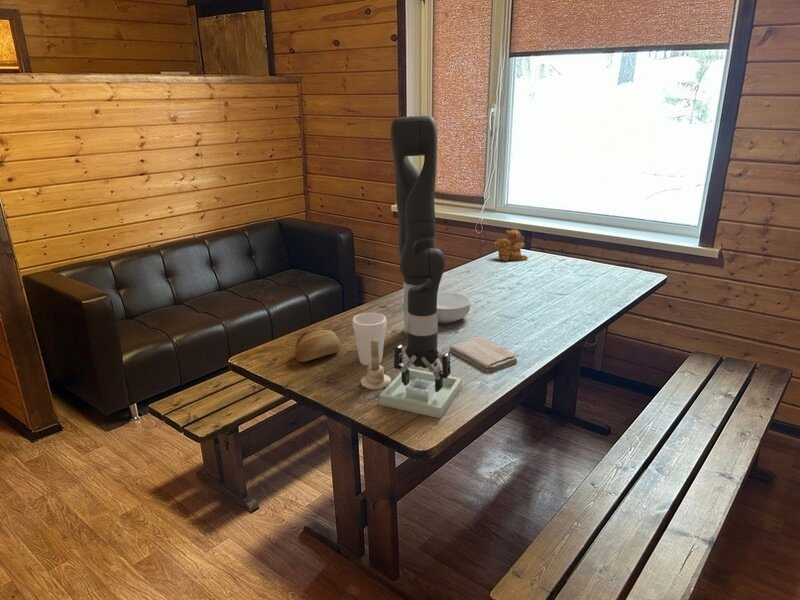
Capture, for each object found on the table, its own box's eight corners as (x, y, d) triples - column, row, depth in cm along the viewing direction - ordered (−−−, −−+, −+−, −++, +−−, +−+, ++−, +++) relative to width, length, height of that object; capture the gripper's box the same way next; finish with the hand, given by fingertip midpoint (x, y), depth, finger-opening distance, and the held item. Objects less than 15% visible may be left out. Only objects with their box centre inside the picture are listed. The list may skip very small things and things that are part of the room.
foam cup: (347, 360, 167) (345, 318, 162) (371, 350, 173) (370, 310, 168) (369, 371, 161) (368, 328, 156) (393, 360, 167) (393, 318, 162)
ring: (415, 386, 151) (415, 377, 150) (436, 390, 149) (436, 382, 148) (405, 397, 146) (405, 388, 145) (428, 401, 144) (428, 392, 143)
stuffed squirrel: (529, 259, 260) (531, 230, 255) (504, 264, 253) (506, 235, 249) (514, 254, 268) (516, 226, 264) (490, 259, 262) (491, 230, 257)
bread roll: (286, 358, 169) (284, 333, 166) (328, 343, 178) (327, 319, 175) (305, 369, 162) (303, 343, 159) (347, 353, 172) (346, 328, 169)
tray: (405, 376, 157) (405, 367, 157) (461, 387, 151) (462, 378, 150) (379, 404, 144) (379, 395, 143) (440, 418, 138) (440, 408, 137)
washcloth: (489, 375, 159) (489, 365, 158) (447, 352, 173) (447, 343, 171) (519, 363, 165) (520, 353, 164) (477, 342, 179) (477, 333, 178)
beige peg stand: (369, 372, 160) (367, 332, 155) (395, 378, 157) (395, 337, 152) (355, 386, 153) (353, 344, 149) (382, 391, 150) (382, 349, 146)
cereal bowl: (467, 330, 186) (468, 310, 184) (416, 326, 190) (416, 306, 187) (471, 311, 202) (472, 292, 200) (424, 308, 205) (424, 289, 203)
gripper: (455, 327, 142) (453, 386, 147) (401, 318, 147) (402, 375, 153) (444, 338, 135) (443, 400, 141) (389, 329, 141) (390, 388, 146)
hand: (421, 387), depth 147 cm, fingers open, 8 cm apart
